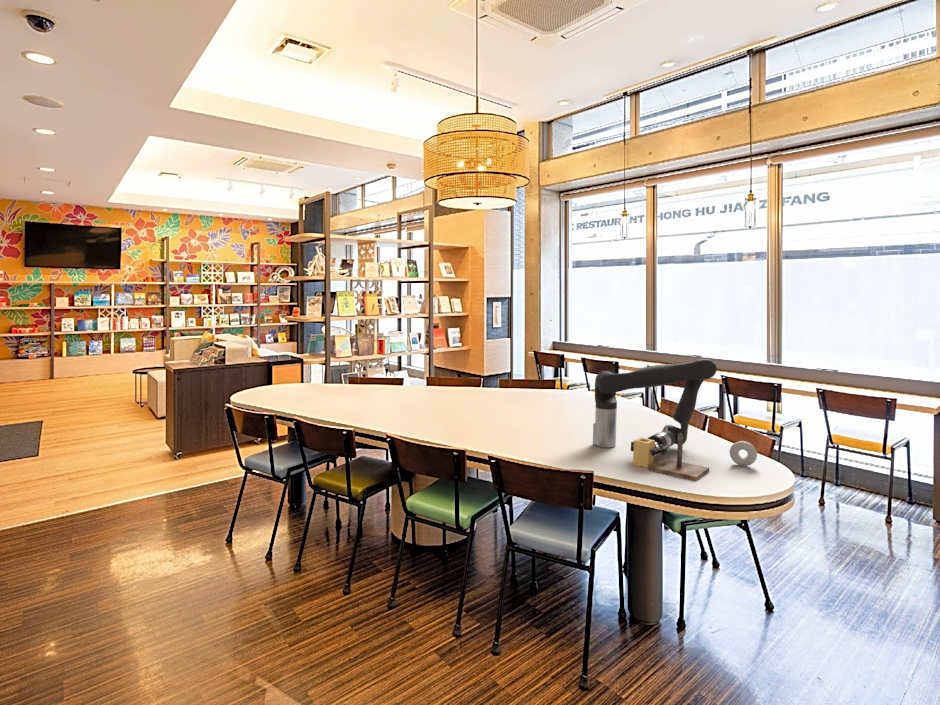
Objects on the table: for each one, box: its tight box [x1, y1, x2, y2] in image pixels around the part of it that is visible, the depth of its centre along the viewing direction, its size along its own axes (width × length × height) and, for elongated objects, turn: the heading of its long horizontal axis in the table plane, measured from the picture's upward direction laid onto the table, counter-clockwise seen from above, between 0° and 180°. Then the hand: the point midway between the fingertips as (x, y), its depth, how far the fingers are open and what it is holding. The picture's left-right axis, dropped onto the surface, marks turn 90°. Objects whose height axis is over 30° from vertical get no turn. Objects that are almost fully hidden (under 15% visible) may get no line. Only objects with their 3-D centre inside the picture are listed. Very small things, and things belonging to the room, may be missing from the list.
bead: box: [632, 437, 655, 469], centre depth 223 cm, size 6×6×10 cm
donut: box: [729, 440, 758, 467], centre depth 222 cm, size 10×4×10 cm, turn 53°
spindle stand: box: [648, 433, 710, 481], centre depth 215 cm, size 18×14×15 cm
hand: (642, 451), depth 222 cm, fingers open, 8 cm apart
